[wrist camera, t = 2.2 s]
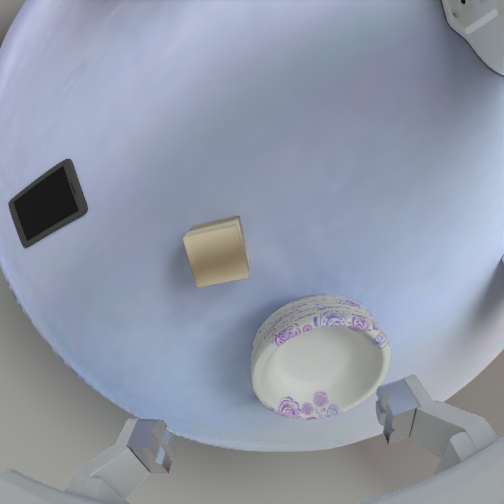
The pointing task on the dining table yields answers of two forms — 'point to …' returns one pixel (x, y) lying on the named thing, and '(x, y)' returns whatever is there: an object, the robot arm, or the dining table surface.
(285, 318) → the paper bowls
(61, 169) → the cell phone
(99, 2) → the dining table surface
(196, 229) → the maple block
